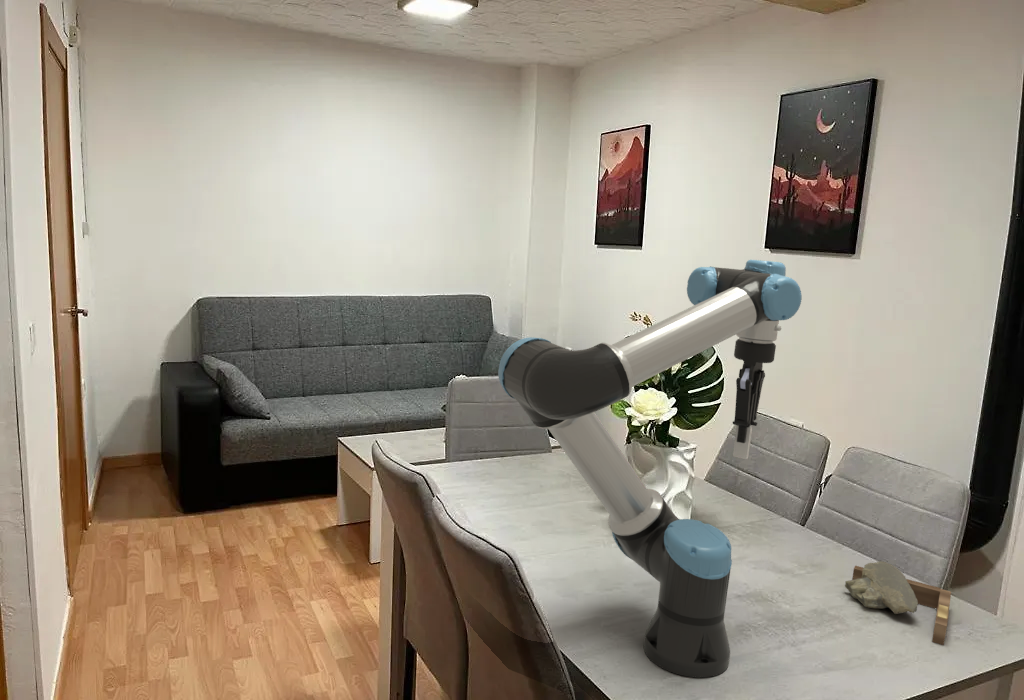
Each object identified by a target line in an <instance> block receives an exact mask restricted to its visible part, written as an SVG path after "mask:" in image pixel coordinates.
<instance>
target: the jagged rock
mask: <svg viewBox="0 0 1024 700" xmlns="http://www.w3.org/2000/svg"><path fill="white" fill-rule="evenodd" d="M862 570H863V571H862V576H861V578H858V579H854V580H852V579H851V580H846V581H845V584H844V587H845V589H847V590H848V592H849V594H850V595H851V597H852V598H853V599H856V600H858V601H859V602H860V603H861V604H862V605H863V606H864V608H869V609H877V610H878V609H881V610H882V609H886V608H888V609H889V610H891V612H893V614H895V615H897V614H903V613H908V612H909V613H912V614H914V613H915V612H917V610H918V605H919V604H918V601H917V599H916V596H915V594H914V591H913V590H912V588H911V586H910V585H909V583H908V582H907V580H906V579H907V578H906V575H904V574H903V572H902V571H901V570H900V569H899V568H898V567H896V566H894V565H892V564H891V563H888V562H886V561H881V560H880V561H879V560H878V561H876V562H867V564H865V565H864V566H863V569H862Z"/></svg>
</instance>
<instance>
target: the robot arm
mask: <svg viewBox="0 0 1024 700" xmlns="http://www.w3.org/2000/svg"><path fill="white" fill-rule="evenodd" d="M786 272H787V269H786V265H785V264H784V263H783V262H779V261H773V260H772V261H771V260H761V259H760V260H759V259H758V260H757V259H748V260H747V261H746V262H745V267H744V269H737V268H727V267H716V266H715V267H714V266H700V267H697V268H695V269H694V270H692V272H691V273H690V275H689V277H688V279H687V287H686V295H687V297H688V300H689V302H690V303H691V304H692V305H693V306H691V307H688V308H686V309H684V310H682V311H680V312H677V313H675V314H674V315H672V316H669V317H667V318H665V319H663V320H661V321H659V322H657V323H655V324H652V325H650V326H648V327H646V328H644V329H642V330H639V331H638V332H635V333H633V334H631V335H629V336H627V337H625V338H623V339H620V340H618V341H617V342H615V343H612V344H609V343H606V342H601V343H598V344H596V345H594V346H592V347H589V348H585V349H578V350H574V349H573V350H572V349H568V348H566V347H562V346H560V345H557V344H556V343H555V344H554V343H552V342H551V341H550V340H548V339H546V338H542V337H535V336H533V337H532V336H529V337H524V338H521V339H519V340H517V341H515V342H514V343H512V344H511V345H510V346H509V347H507V349H506V350H505V351H504V353H503V354H502V355H501V358H500V361H499V366H498V371H497V372H498V373H497V374H498V375H497V376H498V381H499V385H501V388H502V389H503V390H504V392H505V393H506V394H507V396H509V397H510V398H512V399H514V400H516V402H517V403H518V404H519V405H520V407H521V408H522V410H523V411H524V412H525V414H526V415H527V417H528V418H529V419H530V421H531V422H532V423H533V424H534V426H536V427H537V428H539V429H543V430H549V432H550V433H551V435H552V436H553V438H554V439H555V441H556V442H557V443H558V444H559V447H560V448H561V449H562V451H563V452H565V454H566V456H567V458H568V459H569V460H570V461H571V463H572V464H573V466H574V467H575V469H576V470H577V472H579V475H581V477H582V478H583V480H584V481H585V482H586V484H587V485H588V486H589V488H590V489H591V491H592V492H593V494H594V495H595V496H596V498H597V499H598V500H599V502H600V503H601V505H602V506H603V508H604V509H605V510H606V512H607V513H608V520H607V521H608V522H607V523H608V528H609V529H610V532H611V535H612V538H613V541H614V542H615V544H616V546H617V547H618V548H619V550H620V551H621V553H623V554H624V555H625V557H627V558H629V559H631V561H633V562H634V563H636V564H637V565H638V566H639V567H641V568H642V569H643V570H644V571H645V572H646V573H648V574H649V575H650V576H652V577H653V578H654V579H655V580H657V581H658V582H659V591H658V603H657V608H656V611H655V612H654V615H653V617H652V618H651V621H650V622H649V625H648V627H647V629H646V631H645V633H644V641H643V642H644V643H643V650H644V653H645V655H646V656H647V658H648V659H649V660H650V661H651V662H653V663H654V664H655V665H656V666H658V667H659V668H661V669H663V670H665V671H668V672H670V673H673V674H676V675H679V676H683V677H688V678H689V677H690V678H710V677H714V676H717V675H720V674H723V672H725V671H726V670H727V669H728V667H729V664H730V657H731V648H730V643H729V639H728V634H727V630H726V624H725V612H726V605H727V604H726V603H727V598H728V591H729V583H730V576H731V569H732V565H733V563H732V562H733V560H732V545H731V542H730V539H729V538H728V536H727V535H726V534H725V533H724V532H723V531H721V529H719V528H718V527H716V526H714V525H712V524H710V523H703V522H702V521H701V520H697V519H692V518H691V519H690V518H679V517H678V516H676V515H675V513H674V512H673V511H672V509H671V508H670V507H669V505H668V504H667V502H666V501H665V499H664V498H663V496H662V494H660V493H659V491H657V490H655V489H653V488H647V487H646V486H645V484H644V482H643V481H642V480H641V478H640V477H639V475H638V473H637V472H636V470H635V469H634V468H633V466H632V465H631V463H630V462H629V461H628V459H627V457H626V456H625V454H624V452H622V450H621V448H620V447H619V445H618V444H617V443H616V441H615V440H614V439H613V437H612V435H611V434H610V432H609V431H608V430H607V428H606V427H605V425H604V424H603V423H602V420H600V418H599V416H598V415H597V414H596V412H598V411H599V410H602V409H605V408H607V407H609V406H611V405H613V404H615V403H618V402H619V401H621V400H624V399H625V398H626V397H628V396H630V395H631V391H632V388H633V387H635V386H636V385H639V384H641V383H643V382H645V381H647V380H648V379H651V378H652V377H655V376H656V375H658V374H660V373H662V372H665V371H666V370H668V369H671V368H672V367H674V366H676V365H678V364H681V363H682V362H685V361H686V360H688V359H690V358H692V357H694V356H697V354H700V353H702V352H704V351H706V350H708V349H710V348H712V347H713V346H716V345H718V344H720V343H722V342H724V341H726V340H727V339H730V338H732V337H733V336H735V335H736V336H737V339H736V340H735V346H734V353H733V357H734V358H735V359H737V360H740V361H743V364H742V368H740V369H739V372H738V377H737V378H736V380H735V381H736V383H735V384H736V392H735V393H736V396H735V409H734V410H735V411H734V420H733V421H732V425H734V426H736V429H735V435H734V437H735V438H734V444H733V451H732V457H733V458H739V459H743V460H748V459H749V454H750V447H751V441H752V432H753V426H754V427H757V426H758V422H757V421H756V420H757V418H758V417H757V415H758V410H759V405H760V399H761V393H762V389H763V384H764V380H765V377H766V373H765V370H764V369H763V364H771V363H773V362H774V361H775V355H776V347H777V345H776V344H775V343H774V342H775V341H777V339H778V338H777V337H778V332H781V330H782V326H780V325H779V322H780V321H787V320H789V319H791V318H792V317H794V316H795V315H796V313H797V312H798V311H799V310H800V307H801V304H802V291H801V287H800V285H799V284H798V282H797V281H796V280H795V279H793V278H792V277H788V276H787V275H786Z"/></svg>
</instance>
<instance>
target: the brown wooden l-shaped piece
mask: <svg viewBox="0 0 1024 700" xmlns="http://www.w3.org/2000/svg"><path fill="white" fill-rule="evenodd" d="M863 568H864V566H863V567H862V566H859V565H854V567H853V572H852V578H851V580H854V579H858V578H861V576H862V571H863V570H862V569H863ZM906 580H907V582H908V583H909V585H910V586H911V588H912V590H913V591H914V594H915V596H916V599H917V601H918V605H921V606H925V607H929V608H932V609H935V608H936V609H935V610H936V614H935V621H934V627H933V634H932V640H931V642H932V643H935V644H937V645H941V646H945V641H946V634H947V628H948V621H949V611H950V605H951V597H952V591H950V590H945V589H942V588H941V587H939V586H938V587H937V586H934V585H930V584H926V583H923V582H920V581H915V580H911V579H907V578H906Z"/></svg>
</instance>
